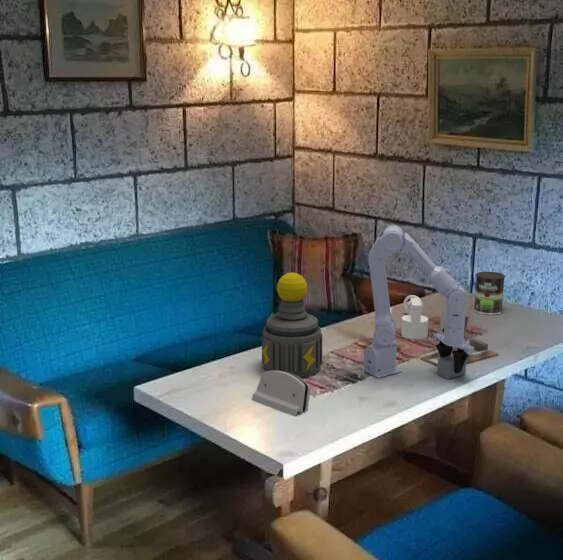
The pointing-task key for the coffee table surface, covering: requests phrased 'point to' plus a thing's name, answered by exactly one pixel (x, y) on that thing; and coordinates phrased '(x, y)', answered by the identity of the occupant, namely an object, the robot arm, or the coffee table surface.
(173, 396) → the coffee table surface
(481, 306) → the coffee can
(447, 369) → the block
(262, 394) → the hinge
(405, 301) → the ring around a ball
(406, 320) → the cylinder with rectangular tab
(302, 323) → the grey tesla coil
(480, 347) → the din rail board
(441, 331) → the electrical switch
